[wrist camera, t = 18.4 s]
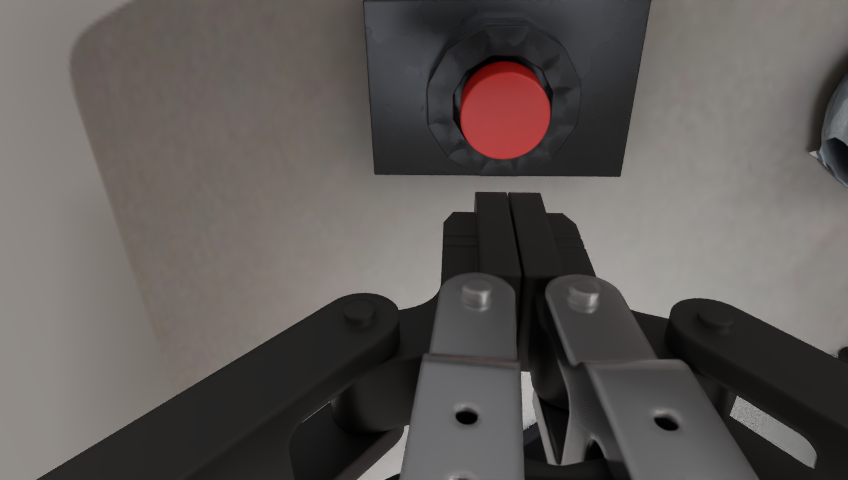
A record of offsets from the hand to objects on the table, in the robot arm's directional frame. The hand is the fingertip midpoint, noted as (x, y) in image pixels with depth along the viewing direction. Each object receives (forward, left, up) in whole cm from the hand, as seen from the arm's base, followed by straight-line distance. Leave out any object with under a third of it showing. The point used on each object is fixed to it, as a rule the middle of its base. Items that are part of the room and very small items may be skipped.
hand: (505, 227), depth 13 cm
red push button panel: (+1, -1, -16) cm, 16 cm away
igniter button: (+1, -1, -12) cm, 12 cm away
